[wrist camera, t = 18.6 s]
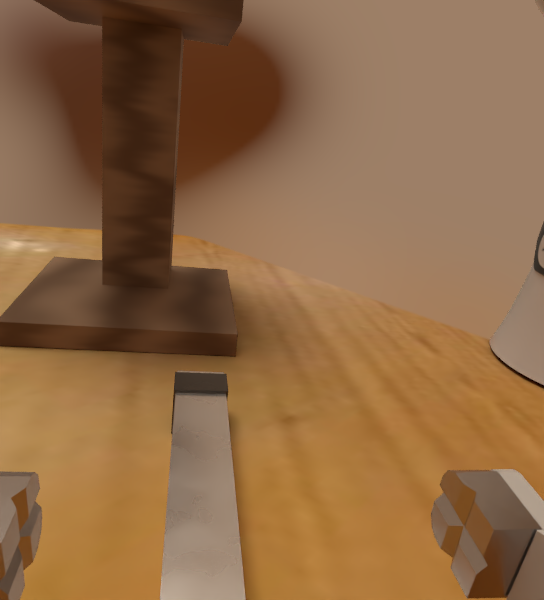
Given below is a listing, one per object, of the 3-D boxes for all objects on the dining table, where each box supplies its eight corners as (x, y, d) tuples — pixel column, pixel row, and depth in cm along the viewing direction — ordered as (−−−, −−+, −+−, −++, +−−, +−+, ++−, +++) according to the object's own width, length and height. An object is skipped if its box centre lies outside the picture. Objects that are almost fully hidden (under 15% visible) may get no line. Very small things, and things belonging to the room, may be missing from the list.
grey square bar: (221, 411, 33) (225, 369, 32) (258, 908, 13) (274, 845, 12) (173, 410, 32) (175, 367, 31) (132, 929, 12) (135, 864, 11)
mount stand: (225, 286, 55) (251, 25, 45) (235, 356, 40) (276, -10, 31) (54, 274, 51) (44, -10, 42) (-2, 345, 37) (-38, -66, 27)
